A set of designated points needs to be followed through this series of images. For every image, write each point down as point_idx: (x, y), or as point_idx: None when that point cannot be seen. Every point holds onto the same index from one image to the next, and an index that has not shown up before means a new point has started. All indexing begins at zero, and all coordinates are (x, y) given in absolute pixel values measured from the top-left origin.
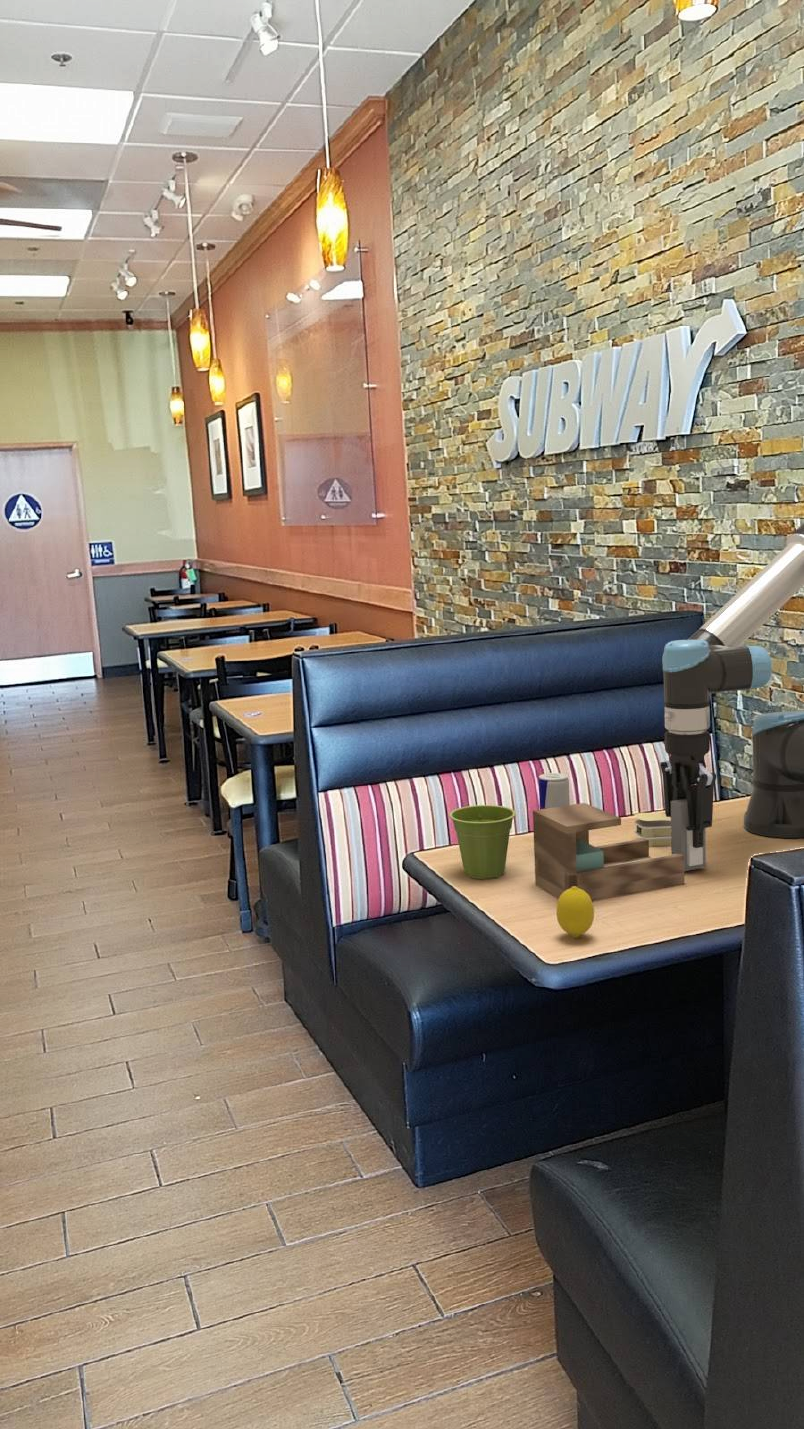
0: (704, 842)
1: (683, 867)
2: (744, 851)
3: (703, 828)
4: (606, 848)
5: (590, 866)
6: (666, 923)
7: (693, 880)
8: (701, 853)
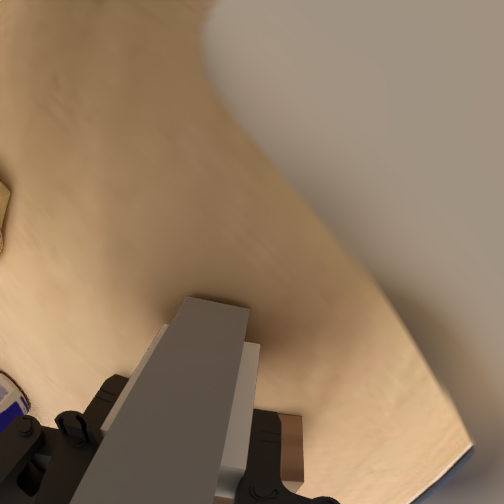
0: (236, 379)
1: (302, 453)
2: (173, 25)
3: (288, 493)
4: None
5: None
6: (394, 490)
7: (298, 389)
8: (255, 375)
